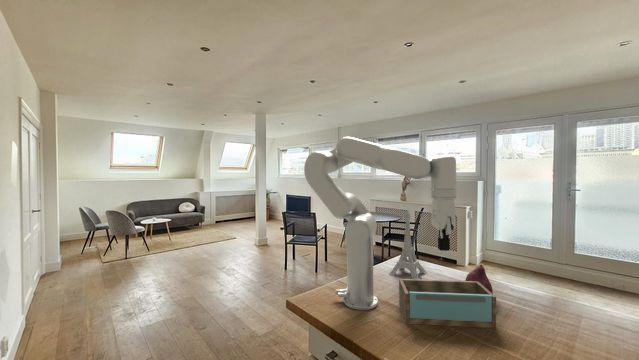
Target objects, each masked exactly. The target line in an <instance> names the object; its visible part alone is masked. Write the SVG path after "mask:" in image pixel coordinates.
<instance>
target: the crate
mask: <svg viewBox="0 0 639 360" xmlns="http://www.w3.org/2000/svg"><path fill="white" fill-rule="evenodd" d="M409 292H433V293H459V294H485V295H491V296H492V322H481V321H461V320H441V319H422V318H410V317H409ZM398 295H399V296H398V305H399V309H400V311H401V314H402V317H403V319H404V323H405V324H411V325H428V326H429V325H430V326H431V325H432V326H445V327H446V326H447V327H449V326H450V327H451V326H452V327H466V328H467V327H469V328H486V329H488V328H489V329H497V296H496V295H495V294H492V293H491V292H490V291H489V290H487V289H486V288H485V287H484V286H483V285H482V284H480V283H479V282H478V281H465V280H447V279H446V280H445V279H420V278H419V279H412V278H411V279H410V278H399V279H398Z"/></svg>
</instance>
